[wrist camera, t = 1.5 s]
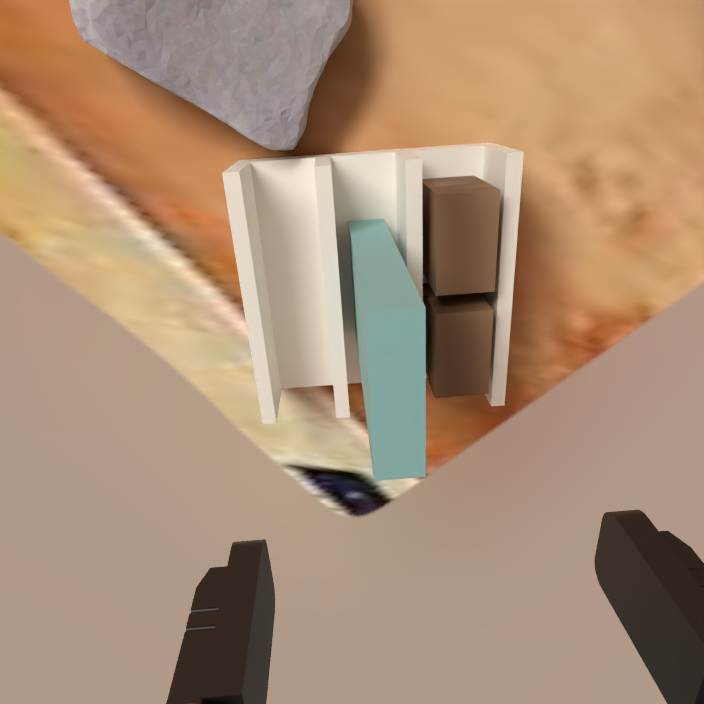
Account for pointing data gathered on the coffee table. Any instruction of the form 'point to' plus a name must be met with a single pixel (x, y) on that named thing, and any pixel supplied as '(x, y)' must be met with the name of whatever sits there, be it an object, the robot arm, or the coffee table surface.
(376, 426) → the sheet
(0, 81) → the coffee table surface
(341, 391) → the rack
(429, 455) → the coffee table surface
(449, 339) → the offcut
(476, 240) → the offcut
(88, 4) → the stone block
